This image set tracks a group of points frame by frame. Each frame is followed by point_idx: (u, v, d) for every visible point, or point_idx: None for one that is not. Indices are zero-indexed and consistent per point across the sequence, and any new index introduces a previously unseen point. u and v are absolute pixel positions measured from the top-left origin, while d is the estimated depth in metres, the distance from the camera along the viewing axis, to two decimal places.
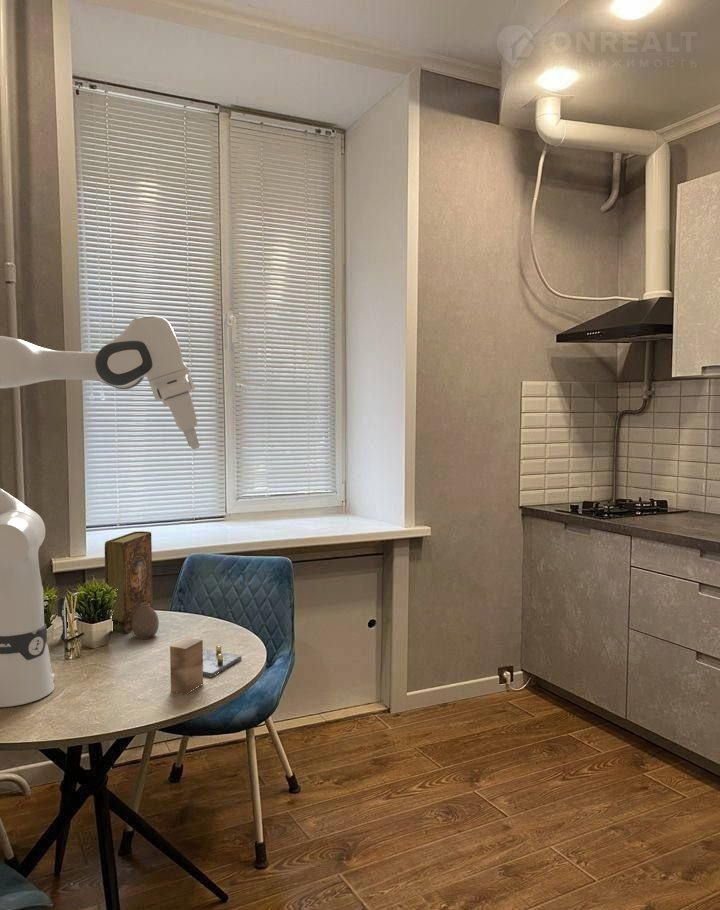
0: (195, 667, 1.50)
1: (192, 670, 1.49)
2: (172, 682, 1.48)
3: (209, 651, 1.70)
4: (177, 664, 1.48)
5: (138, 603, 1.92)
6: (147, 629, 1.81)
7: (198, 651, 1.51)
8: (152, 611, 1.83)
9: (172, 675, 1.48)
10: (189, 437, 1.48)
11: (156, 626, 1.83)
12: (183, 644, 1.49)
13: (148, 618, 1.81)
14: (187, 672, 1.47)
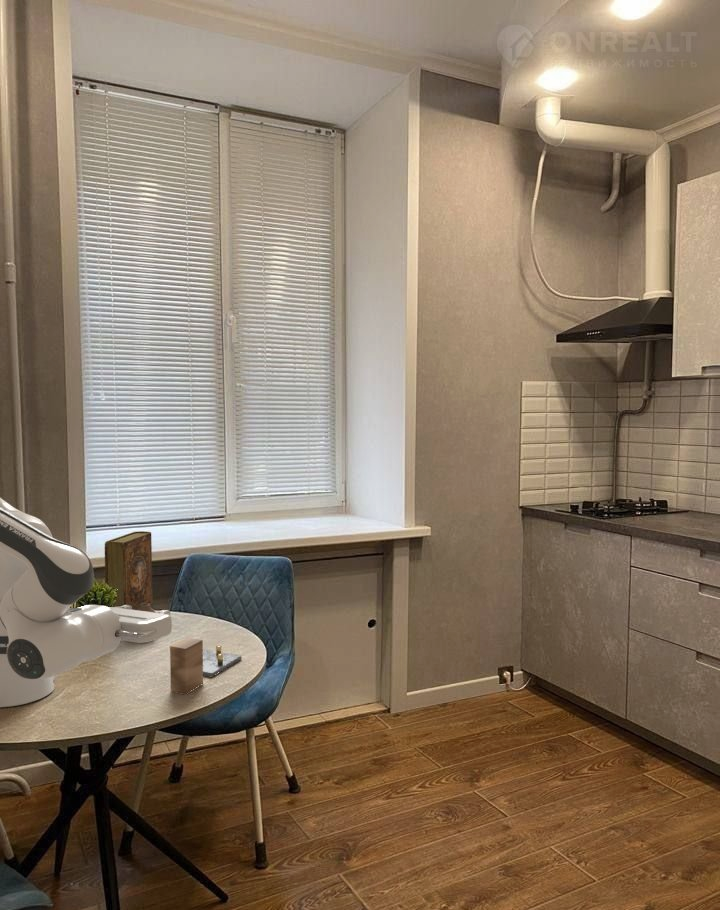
0: (194, 667, 1.50)
1: (192, 670, 1.49)
2: (172, 682, 1.48)
3: (209, 651, 1.70)
4: (177, 664, 1.48)
5: (138, 603, 1.92)
6: None
7: (198, 651, 1.51)
8: (152, 611, 1.83)
9: (172, 675, 1.48)
10: None
11: None
12: (183, 644, 1.49)
13: None
14: (187, 672, 1.47)
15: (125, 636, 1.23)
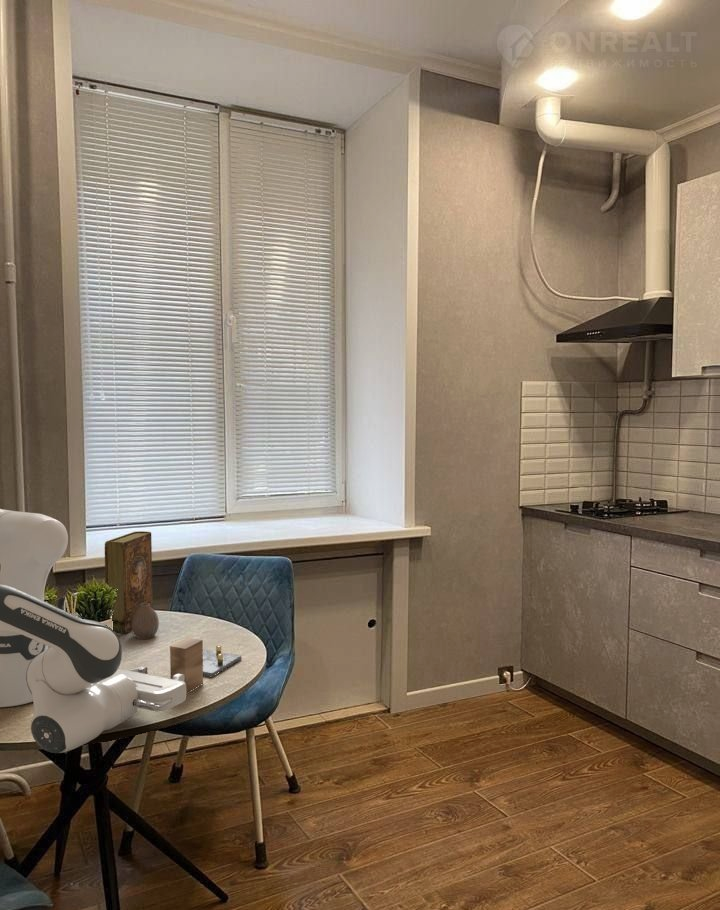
0: (194, 667, 1.50)
1: (192, 670, 1.49)
2: None
3: (209, 651, 1.70)
4: (177, 664, 1.48)
5: (138, 603, 1.92)
6: (147, 629, 1.81)
7: (198, 651, 1.51)
8: (152, 611, 1.83)
9: (172, 675, 1.48)
10: None
11: (156, 626, 1.83)
12: (183, 644, 1.49)
13: (148, 618, 1.81)
14: (187, 672, 1.47)
15: (142, 706, 1.28)
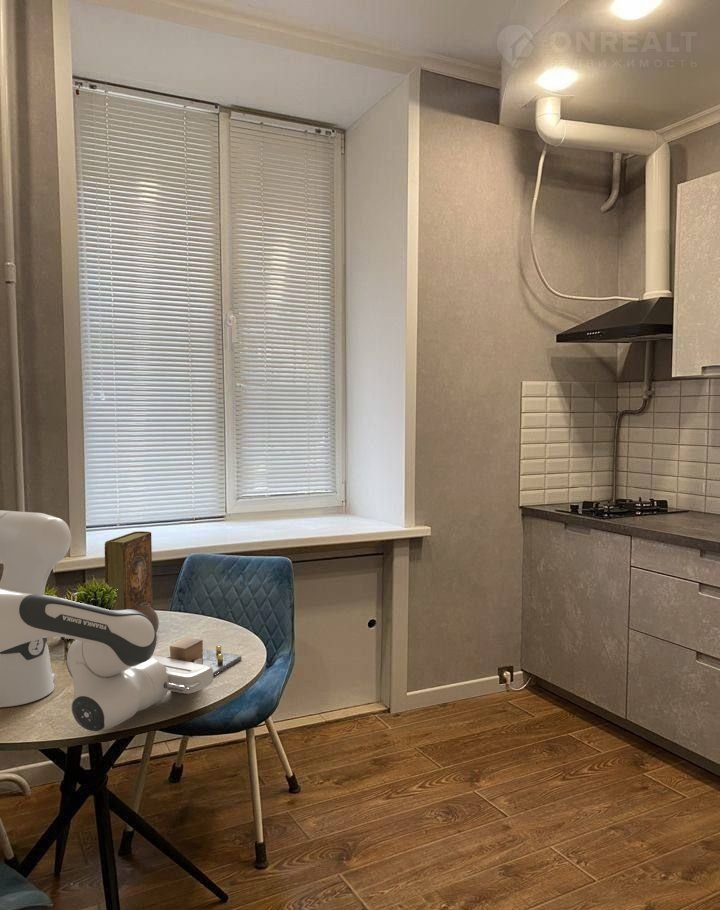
0: None
1: None
2: None
3: (209, 651, 1.70)
4: None
5: (138, 603, 1.92)
6: None
7: (198, 651, 1.51)
8: (152, 611, 1.83)
9: None
10: None
11: (156, 626, 1.83)
12: (183, 644, 1.49)
13: None
14: None
15: (173, 688, 1.36)
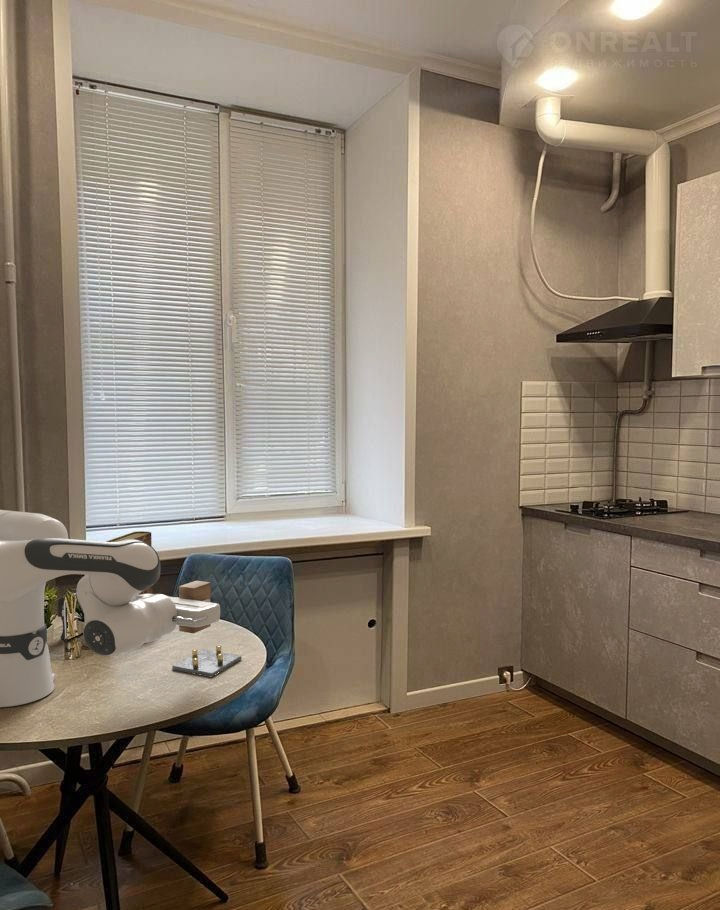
0: None
1: None
2: None
3: (209, 651, 1.70)
4: None
5: None
6: None
7: (206, 593, 1.55)
8: None
9: None
10: None
11: None
12: (192, 585, 1.53)
13: None
14: None
15: (181, 621, 1.40)
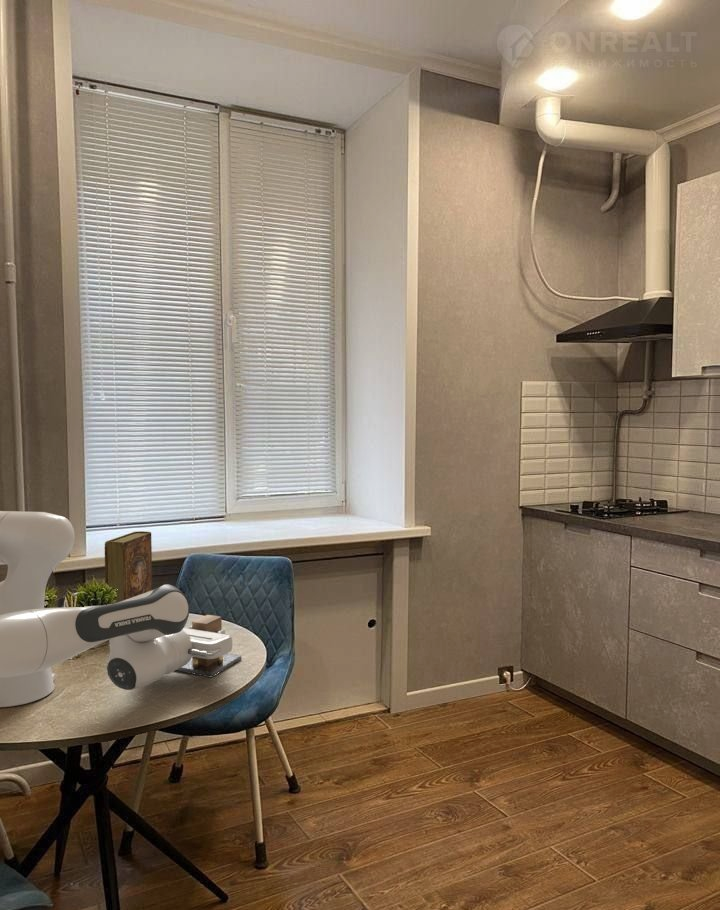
0: None
1: None
2: None
3: None
4: None
5: None
6: None
7: (217, 627, 1.64)
8: None
9: None
10: None
11: None
12: (204, 620, 1.62)
13: None
14: None
15: (196, 654, 1.49)
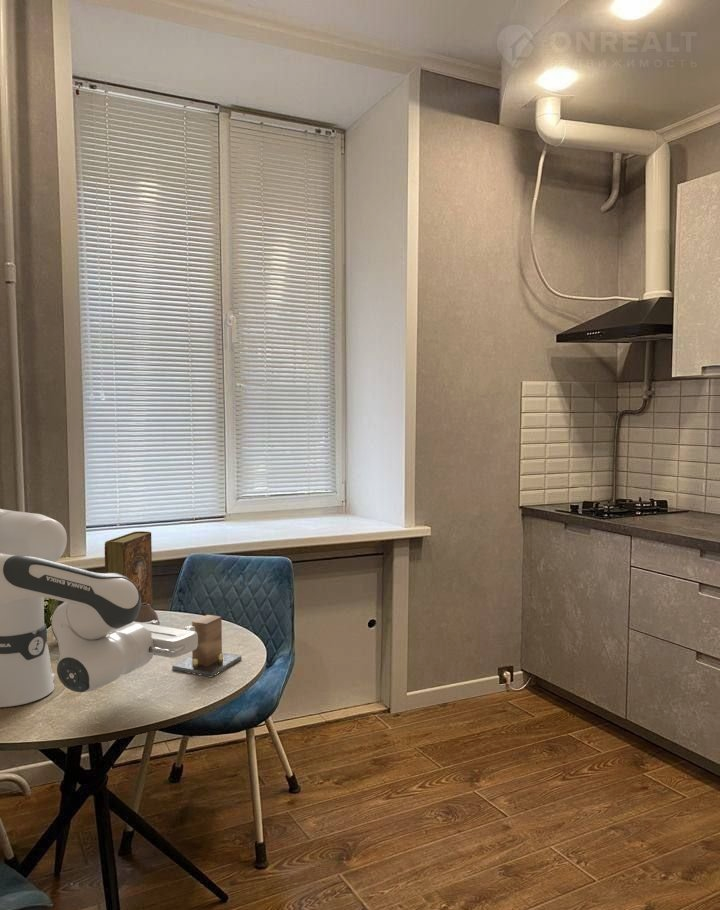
0: (214, 641, 1.63)
1: (212, 644, 1.62)
2: (194, 655, 1.62)
3: None
4: (199, 638, 1.61)
5: None
6: None
7: (217, 627, 1.64)
8: (152, 611, 1.83)
9: None
10: None
11: None
12: (204, 620, 1.62)
13: (148, 618, 1.81)
14: (208, 645, 1.61)
15: (158, 652, 1.38)
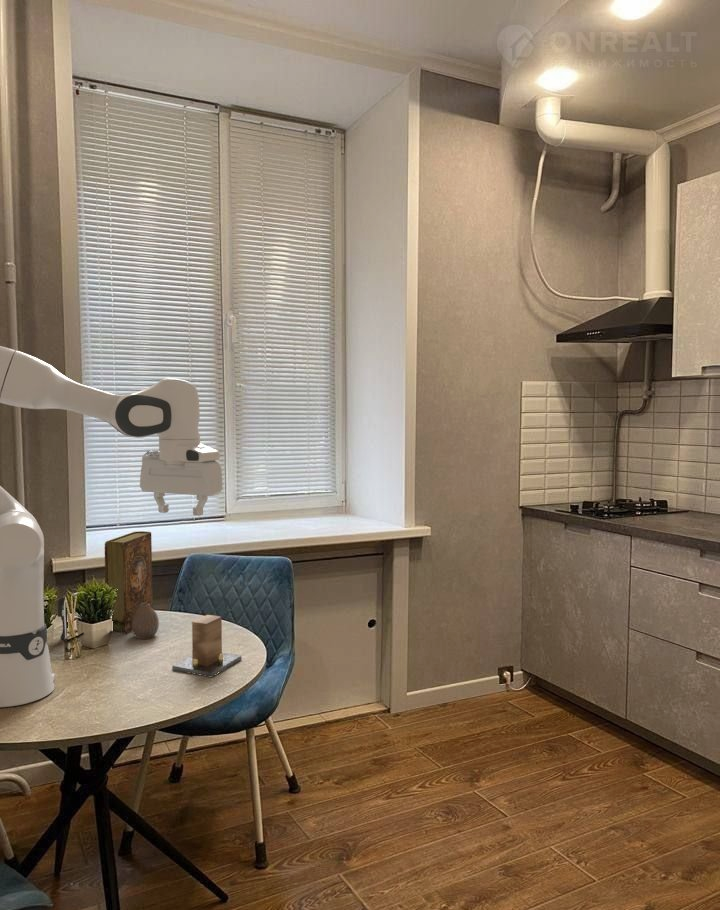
0: (214, 641, 1.63)
1: (212, 644, 1.62)
2: (194, 655, 1.62)
3: None
4: (199, 638, 1.61)
5: (138, 603, 1.92)
6: (147, 629, 1.81)
7: (217, 627, 1.64)
8: (152, 611, 1.83)
9: (194, 648, 1.62)
10: (201, 503, 1.52)
11: (156, 626, 1.83)
12: (204, 620, 1.62)
13: (148, 618, 1.81)
14: (208, 645, 1.61)
15: None
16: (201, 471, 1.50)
